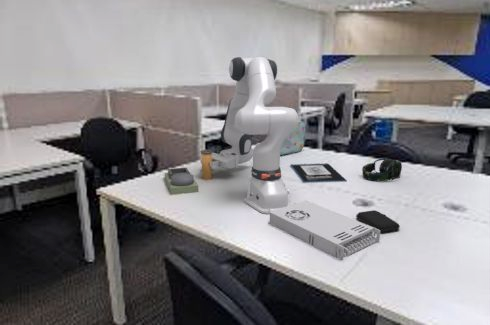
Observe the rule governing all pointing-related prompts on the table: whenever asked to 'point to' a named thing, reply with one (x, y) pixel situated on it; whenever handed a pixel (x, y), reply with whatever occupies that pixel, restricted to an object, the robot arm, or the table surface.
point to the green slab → (180, 181)
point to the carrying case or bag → (378, 221)
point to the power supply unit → (324, 228)
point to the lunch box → (294, 140)
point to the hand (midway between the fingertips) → (205, 163)
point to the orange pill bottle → (206, 164)
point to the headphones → (382, 170)
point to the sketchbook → (317, 173)
